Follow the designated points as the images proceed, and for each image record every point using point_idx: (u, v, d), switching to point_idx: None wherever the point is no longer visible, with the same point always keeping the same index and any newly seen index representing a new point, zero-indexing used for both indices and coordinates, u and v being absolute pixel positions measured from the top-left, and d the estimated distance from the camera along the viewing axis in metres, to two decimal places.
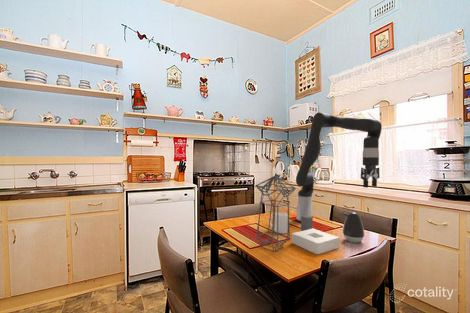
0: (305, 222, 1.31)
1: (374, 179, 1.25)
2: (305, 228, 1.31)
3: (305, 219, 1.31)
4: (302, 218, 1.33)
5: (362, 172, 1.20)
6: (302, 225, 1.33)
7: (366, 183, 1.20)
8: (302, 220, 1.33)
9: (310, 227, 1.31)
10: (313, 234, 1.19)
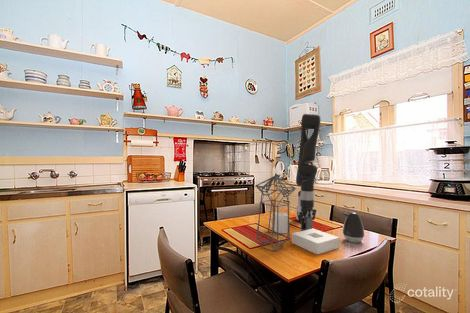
0: (305, 222, 1.31)
1: None
2: None
3: None
4: None
5: (299, 216, 1.30)
6: None
7: (303, 225, 1.31)
8: None
9: (310, 227, 1.31)
10: (313, 234, 1.19)
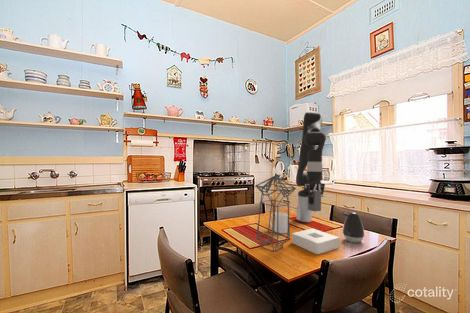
0: (313, 196, 1.16)
1: None
2: (313, 203, 1.16)
3: None
4: None
5: (305, 189, 1.15)
6: None
7: (311, 200, 1.16)
8: None
9: (318, 202, 1.17)
10: (313, 234, 1.19)
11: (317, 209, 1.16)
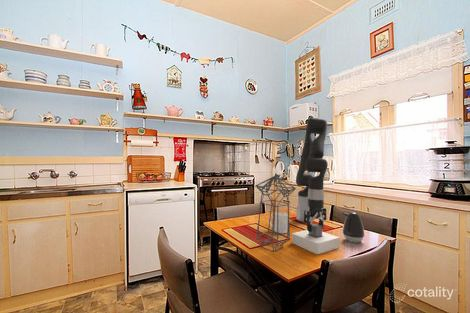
0: (314, 232, 1.14)
1: (320, 221, 1.18)
2: None
3: (314, 228, 1.14)
4: None
5: (305, 215, 1.12)
6: (310, 235, 1.15)
7: (309, 227, 1.12)
8: None
9: None
10: None
11: None
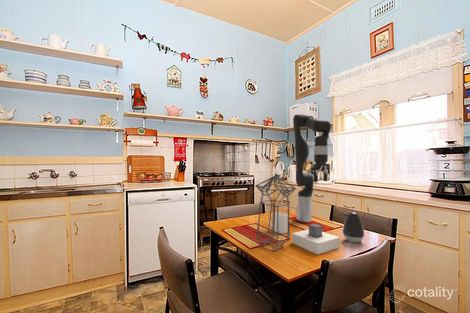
0: (314, 232, 1.14)
1: (325, 174, 1.38)
2: None
3: (314, 228, 1.14)
4: (310, 227, 1.16)
5: (312, 167, 1.33)
6: (310, 235, 1.15)
7: (316, 178, 1.33)
8: (310, 229, 1.16)
9: None
10: None
11: None
